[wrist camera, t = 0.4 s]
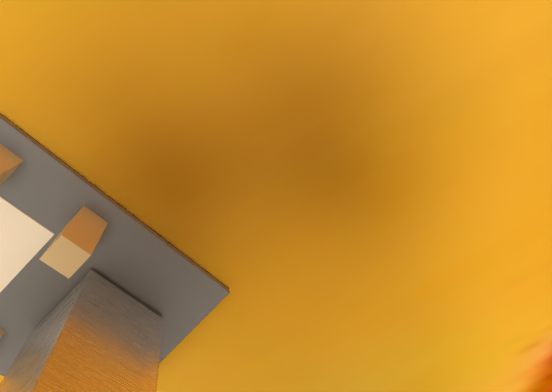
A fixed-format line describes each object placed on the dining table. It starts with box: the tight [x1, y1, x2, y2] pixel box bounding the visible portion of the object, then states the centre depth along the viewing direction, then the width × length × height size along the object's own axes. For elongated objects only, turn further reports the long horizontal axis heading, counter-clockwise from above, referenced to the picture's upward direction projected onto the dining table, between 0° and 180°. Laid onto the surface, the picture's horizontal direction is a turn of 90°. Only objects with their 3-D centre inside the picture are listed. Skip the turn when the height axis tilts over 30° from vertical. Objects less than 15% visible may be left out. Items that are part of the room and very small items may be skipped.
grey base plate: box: [0, 114, 229, 377], centre depth 20 cm, size 17×12×4 cm
